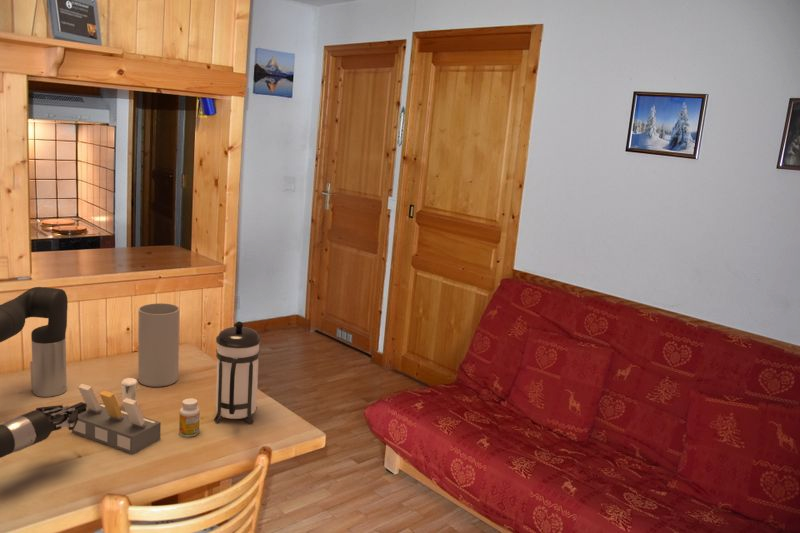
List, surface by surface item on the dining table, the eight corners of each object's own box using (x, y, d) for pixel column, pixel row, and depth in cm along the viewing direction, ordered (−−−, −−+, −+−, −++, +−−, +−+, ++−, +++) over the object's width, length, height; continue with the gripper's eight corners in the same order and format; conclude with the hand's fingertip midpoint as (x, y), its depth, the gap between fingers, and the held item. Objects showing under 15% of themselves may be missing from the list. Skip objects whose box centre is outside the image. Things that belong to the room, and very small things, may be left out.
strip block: (71, 432, 180) (71, 415, 179) (101, 419, 189) (101, 402, 188) (132, 454, 172) (132, 436, 171) (160, 438, 181) (160, 421, 180)
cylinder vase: (163, 370, 227) (164, 301, 222) (185, 380, 220) (187, 309, 215) (130, 379, 217) (130, 307, 212) (153, 391, 210) (153, 316, 205)
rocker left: (87, 410, 183) (76, 386, 178) (91, 406, 184) (80, 383, 179) (99, 414, 181) (88, 390, 176) (102, 410, 182) (92, 387, 178)
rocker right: (130, 424, 177) (121, 400, 172) (134, 421, 178) (125, 397, 173) (143, 429, 175) (133, 404, 170) (147, 425, 176) (137, 401, 172)
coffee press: (197, 414, 197) (199, 319, 191) (242, 401, 209) (246, 311, 203) (229, 436, 186) (232, 336, 180) (275, 420, 198) (280, 326, 191)
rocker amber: (108, 417, 180) (98, 393, 175) (112, 413, 181) (102, 390, 176) (120, 421, 178) (110, 397, 173) (124, 417, 179) (114, 394, 175)
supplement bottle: (178, 429, 187) (178, 398, 185) (198, 427, 189) (198, 396, 187) (180, 438, 182) (180, 406, 180) (200, 436, 184) (200, 404, 182)
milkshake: (134, 412, 195) (134, 380, 193) (118, 409, 196) (117, 377, 194) (143, 405, 200) (143, 375, 197) (127, 403, 201) (127, 372, 198)
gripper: (4, 439, 156) (66, 413, 172) (43, 454, 151) (103, 426, 167) (2, 410, 155) (66, 386, 170) (42, 424, 150) (103, 398, 165)
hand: (84, 406), depth 169 cm, fingers closed
